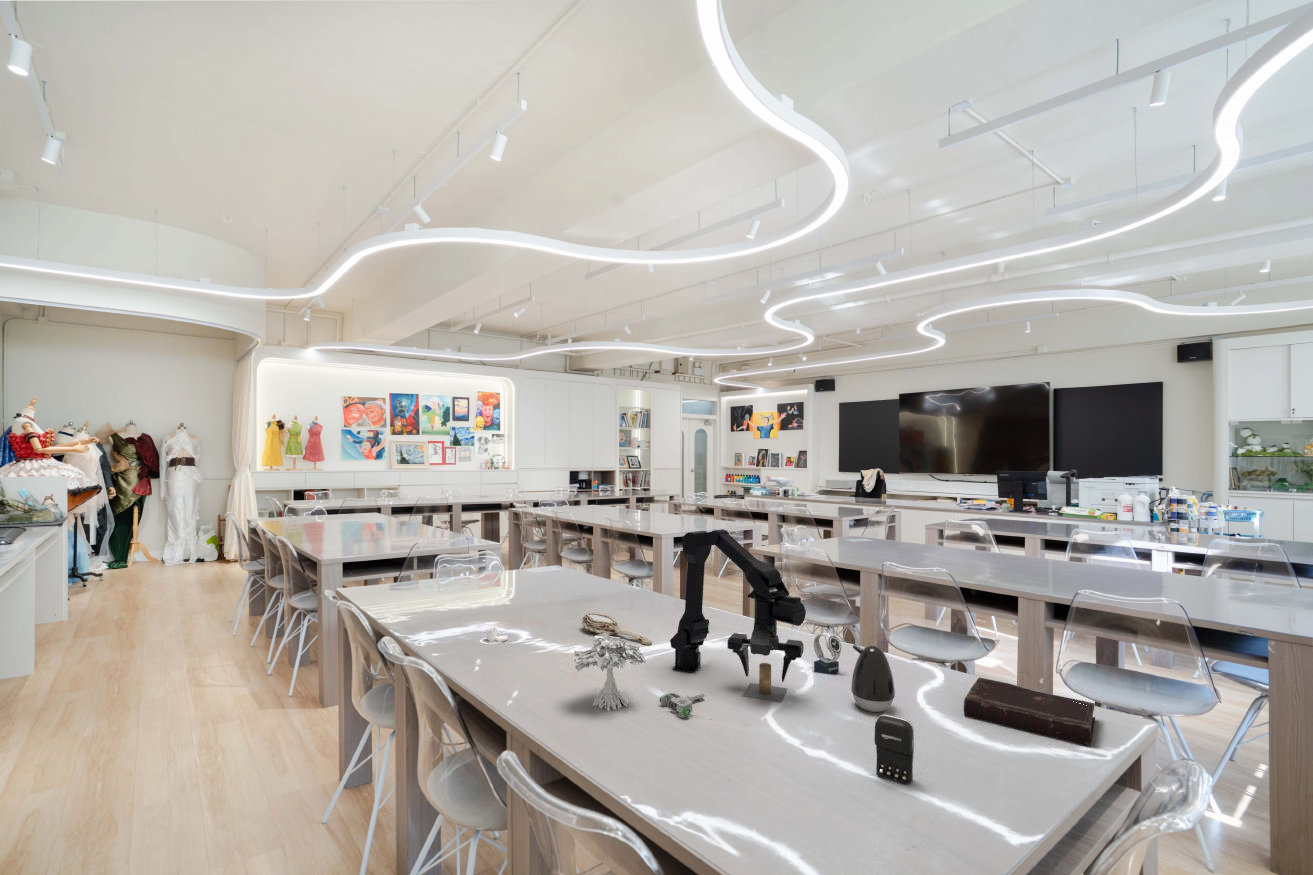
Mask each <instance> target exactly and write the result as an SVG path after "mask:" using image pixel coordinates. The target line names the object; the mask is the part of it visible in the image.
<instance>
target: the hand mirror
mask: <svg viewBox="0 0 1313 875" xmlns="http://www.w3.org/2000/svg"><path fill="white" fill-rule="evenodd" d="M581 620H582V621H581V626H582V627H583V628H585V629H586V630H588V631H590V632H593V633H595V634H598V635H599V634H601V633H602V634H604V633H605V634H606V633H608V634H610V635H609V636H611V635H612V636H615V635H617V634H619V635H623V636H627V637H629V638H630V639H633V640H636V641H639V643H641V644H643V645H645V646H649V645H652V643H653V641H652V639H650V638H649V637H645V636H644V637H643V636H641V635H639V634H636V633H632V632H628V631H627V630H625V629H623V628H622V627H619V624H618V622H617V620H616V619H615V618H613V617H612V616H610V615H607V614H602V613H597V612H589V613H586V614H585V615H583V617H582V619H581Z"/></svg>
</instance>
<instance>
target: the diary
mask: <svg viewBox="0 0 1313 875" xmlns="http://www.w3.org/2000/svg"><path fill="white" fill-rule="evenodd" d="M1073 701H1074V702H1073ZM1076 702H1077V703H1076ZM1079 703H1081V704H1079ZM1083 704H1084V705H1083ZM1086 705H1087V706H1086ZM1095 707H1096V703H1095V702H1090V701H1086V700H1082V699H1075V698H1072V697H1067V696H1061V695H1056V694H1051V693H1048V692H1047V693H1046V692H1043V691H1037V690H1033V689H1030V688H1026V687H1022V686H1020V685H1015V684H1011V683H1008V682H1003V681H999V680H993V679H989V678H984V677H978V678H977V679H976V681H975V682H974V683H973V685H972V686H971V687H970V689H969V691H968V692H967V694H966V696H965V697H964V700H963V714H964V717H966V718H971V719H975V720H979V721H984V722H988V723H993V724H996V725H1000V726H1004V727H1008V728H1013V729H1017V730H1020V731H1024V732H1028V733H1033V734H1036V735H1040V736H1045V737H1049V738H1054V739H1057V740H1061V741H1065V742H1069V743H1073V744H1076V745H1079V746H1081V745H1082V746H1085V747H1090V748H1091V747H1092V742H1093V735H1094V730H1095V729H1094V728H1095V723H1096V722H1095V721H1096V717H1095V716H1094V710H1095Z"/></svg>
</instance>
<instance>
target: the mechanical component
mask: <svg viewBox="0 0 1313 875" xmlns="http://www.w3.org/2000/svg"><path fill="white" fill-rule="evenodd" d="M705 697H706V695H705V694H704V693H702V694H697V695H694V696H689V695H686V696H685V697H684V696H682V695H680V694H677V693H675V692H669V693H665V694H663V695H661V696H660V697H659V702H660V704H661V705H662V706H663V707H668V708H669V707H670V708H671V709H673V710H669V712H670V713H672V714H674V715H676V716H678V717H680V718H682V719H684V718H686V717H689V716H692V714H691V713H692V712H693V704H696V703H701V702H703V701H705ZM674 710H676V711H674Z"/></svg>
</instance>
